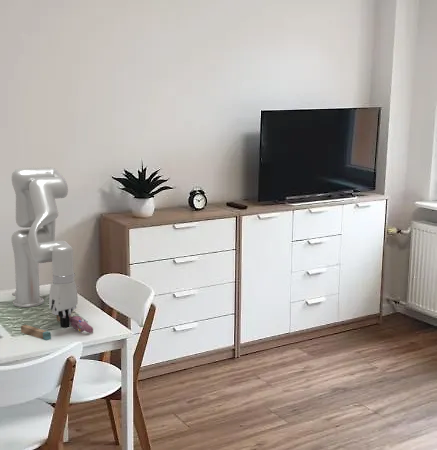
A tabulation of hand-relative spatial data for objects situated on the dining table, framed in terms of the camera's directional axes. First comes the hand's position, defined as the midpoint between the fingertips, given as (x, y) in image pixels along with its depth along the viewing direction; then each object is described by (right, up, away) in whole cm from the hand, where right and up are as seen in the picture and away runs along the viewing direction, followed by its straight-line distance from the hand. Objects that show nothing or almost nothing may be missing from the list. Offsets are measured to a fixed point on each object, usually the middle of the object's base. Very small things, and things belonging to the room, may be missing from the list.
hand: (65, 327), depth 252 cm
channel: (-5, -2, +4) cm, 7 cm away
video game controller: (+5, -2, +2) cm, 6 cm away
